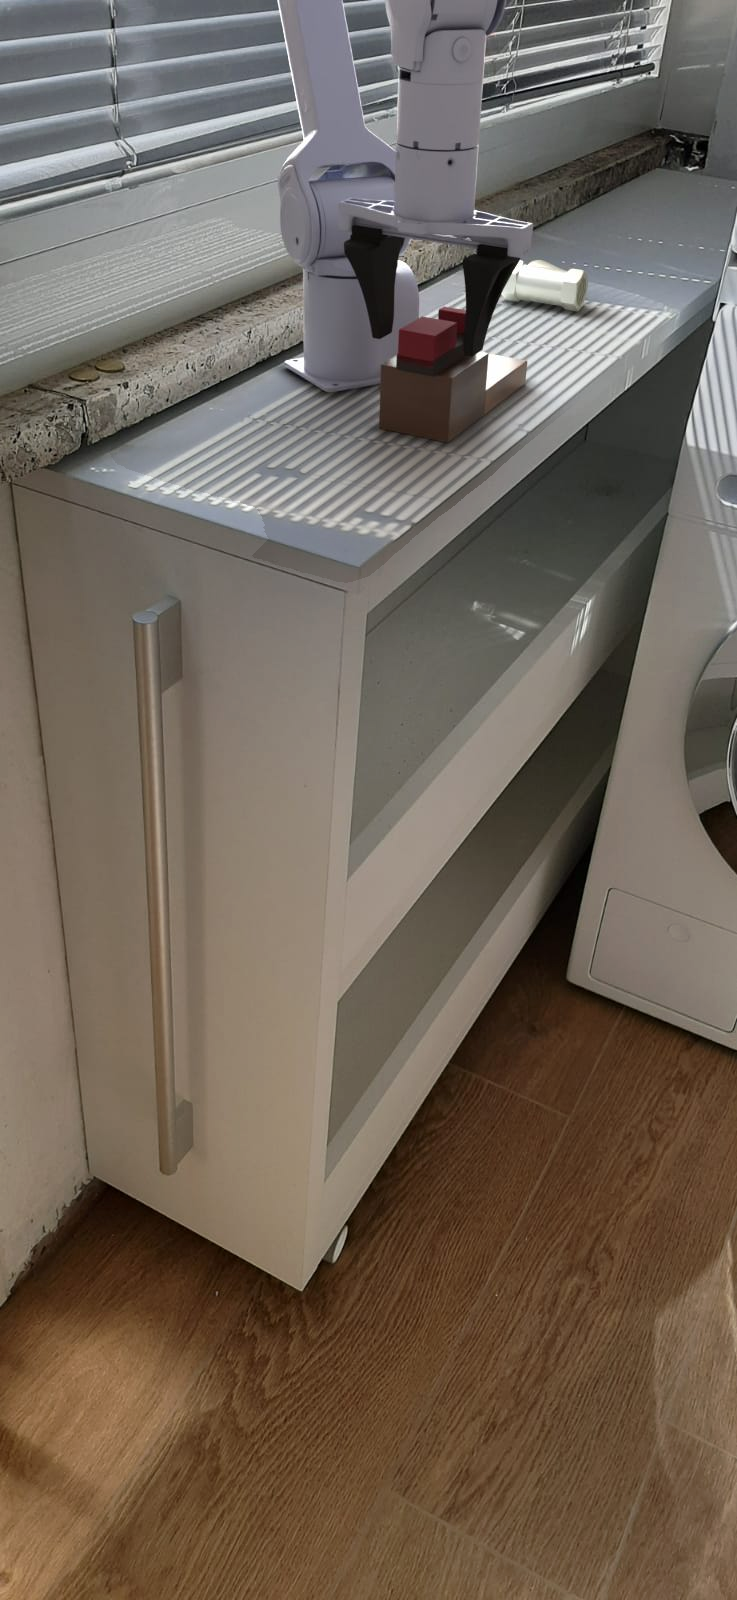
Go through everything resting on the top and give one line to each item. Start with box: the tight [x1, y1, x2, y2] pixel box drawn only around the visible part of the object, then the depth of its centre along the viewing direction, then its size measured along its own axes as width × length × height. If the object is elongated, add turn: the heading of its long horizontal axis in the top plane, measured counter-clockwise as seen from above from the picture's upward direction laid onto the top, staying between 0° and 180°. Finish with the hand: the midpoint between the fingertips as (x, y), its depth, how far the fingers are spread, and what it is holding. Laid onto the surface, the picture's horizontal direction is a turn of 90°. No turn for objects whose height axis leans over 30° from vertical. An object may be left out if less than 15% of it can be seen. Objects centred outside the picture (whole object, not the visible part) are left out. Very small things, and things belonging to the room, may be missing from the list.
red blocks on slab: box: [396, 306, 466, 377], centre depth 97 cm, size 8×3×3 cm, turn 152°
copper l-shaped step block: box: [378, 351, 528, 444], centre depth 102 cm, size 16×6×5 cm, turn 152°
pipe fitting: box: [501, 259, 589, 313], centre depth 128 cm, size 8×4×7 cm
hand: (426, 343), depth 95 cm, fingers open, 7 cm apart
